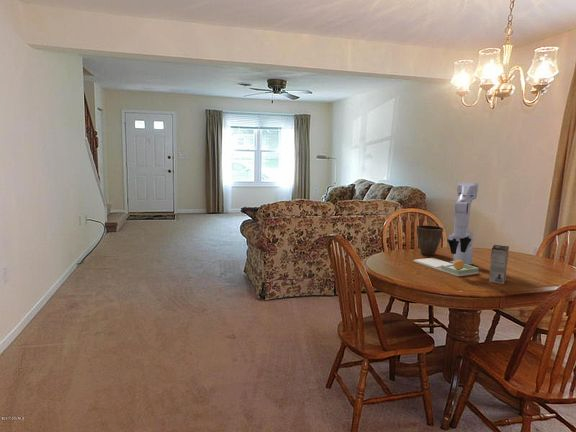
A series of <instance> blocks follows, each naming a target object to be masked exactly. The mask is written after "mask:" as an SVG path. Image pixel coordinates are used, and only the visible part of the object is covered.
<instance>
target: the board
mask: <svg viewBox="0 0 576 432" xmlns="http://www.w3.org/2000/svg"><path fill="white" fill-rule="evenodd" d="M413 263H417V264H419V265H421V266H426V267H428V268H432V269H434V270H438V271H440V272H443V273H446V274H449V275H452V276H455V277H463V276H470V275H478V274H479V270H480V268H479V267H476V266H472V265H471V264H469V265H467V264H464V268H463V269H461V270H457V269H455V268H454V266H453V263H451V262H450V261H444V260H442V259H438V258H435V257H430V258H428V257H427V258H419V259H418V258H417V259H413Z"/></svg>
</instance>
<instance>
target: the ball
mask: <svg viewBox="0 0 576 432" xmlns="http://www.w3.org/2000/svg"><path fill="white" fill-rule="evenodd" d="M453 261H454V260H453ZM452 264H453V266H454V268H455V269H457V270H461V269H463V268H464V262H463V261H461V260H456V261H454V263H452Z"/></svg>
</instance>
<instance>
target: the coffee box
mask: <svg viewBox="0 0 576 432" xmlns="http://www.w3.org/2000/svg"><path fill="white" fill-rule="evenodd" d="M509 247H510V246H509V245H508V246H507V245H499V244H494V245H493V246H492V248H491V255H490V256H491V257H490V266H489V276H488V277H489V278H488V282H489V283H494V284H499V285H504V284H505V282H506V279H507V277H506V275H507V267H508V259H509V258H508V257H509V249H510V248H509Z"/></svg>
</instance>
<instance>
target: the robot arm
mask: <svg viewBox="0 0 576 432" xmlns="http://www.w3.org/2000/svg"><path fill="white" fill-rule="evenodd" d="M456 189H457V190H456V192H457V201H456V202H454V209H453V210H454V214H453V215H454V223H453V225H454V226H453V233H451V234H450V235H448V238H446V241H447V243H448V245H449V249H450V254H451V255H453V260H450V261H449V263H452V264H453V263H454V261H456V260H461V261H463V262H464V264H467V265H474V263H475V262H473V261H474V259H473V257H474V250H473V248H472V247H473V242H474V241H473V240H474V235H473V232H472V231H471V230H469V223H470V215H471V206H472V203H473V201H474V200H476V199H477V197H478V192H479V191H478V190H479V183H478V182H463V181H462V182H461V181H459V182H457V188H456Z"/></svg>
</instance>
